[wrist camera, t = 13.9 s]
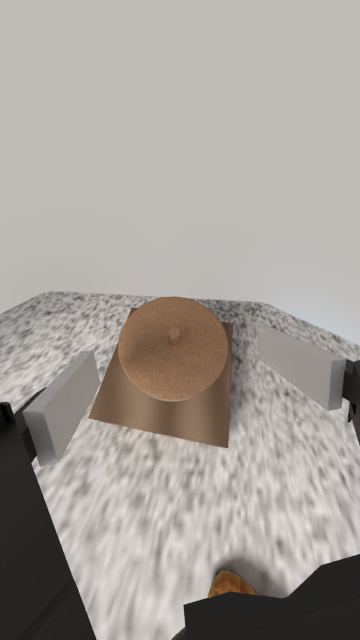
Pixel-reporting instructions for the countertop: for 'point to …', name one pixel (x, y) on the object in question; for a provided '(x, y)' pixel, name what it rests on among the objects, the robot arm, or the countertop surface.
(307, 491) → the countertop surface
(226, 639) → the robot arm
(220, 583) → the pastry
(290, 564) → the countertop surface
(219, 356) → the lidded jar
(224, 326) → the walnut box
